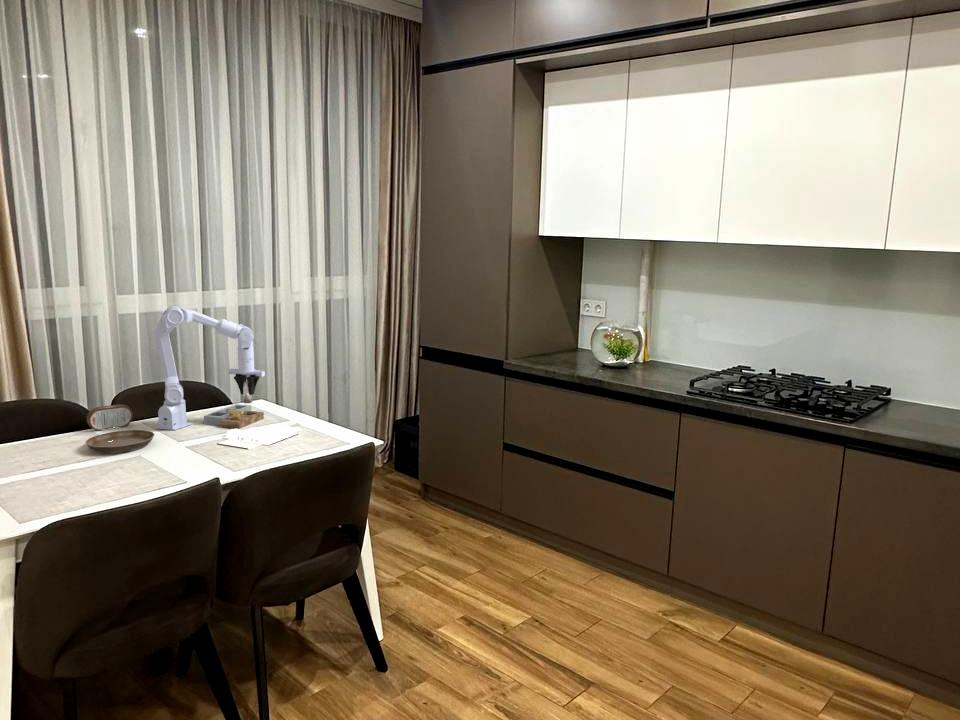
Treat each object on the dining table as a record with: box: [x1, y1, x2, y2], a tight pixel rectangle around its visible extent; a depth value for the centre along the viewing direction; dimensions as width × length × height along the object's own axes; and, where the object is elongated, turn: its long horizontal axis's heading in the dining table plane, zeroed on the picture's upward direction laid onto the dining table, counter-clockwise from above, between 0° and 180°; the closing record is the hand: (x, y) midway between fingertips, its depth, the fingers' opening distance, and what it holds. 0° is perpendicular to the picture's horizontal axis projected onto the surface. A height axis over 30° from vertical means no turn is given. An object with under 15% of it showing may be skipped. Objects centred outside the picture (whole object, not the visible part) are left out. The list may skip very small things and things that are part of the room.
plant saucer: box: [85, 429, 155, 454], centre depth 243 cm, size 21×21×3 cm
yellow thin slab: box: [228, 409, 244, 420], centre depth 270 cm, size 1×6×5 cm, turn 74°
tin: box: [86, 403, 134, 431], centre depth 264 cm, size 15×3×8 cm, turn 130°
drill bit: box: [242, 380, 253, 404], centre depth 276 cm, size 3×3×8 cm
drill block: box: [219, 410, 265, 429], centre depth 274 cm, size 16×8×2 cm, turn 163°
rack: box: [203, 403, 252, 426], centre depth 280 cm, size 20×7×3 cm, turn 163°
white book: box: [216, 423, 302, 450], centre depth 256 cm, size 20×28×4 cm
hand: (247, 394), depth 276 cm, fingers closed on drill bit, 3 cm apart
